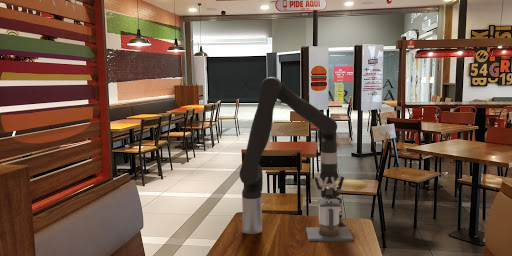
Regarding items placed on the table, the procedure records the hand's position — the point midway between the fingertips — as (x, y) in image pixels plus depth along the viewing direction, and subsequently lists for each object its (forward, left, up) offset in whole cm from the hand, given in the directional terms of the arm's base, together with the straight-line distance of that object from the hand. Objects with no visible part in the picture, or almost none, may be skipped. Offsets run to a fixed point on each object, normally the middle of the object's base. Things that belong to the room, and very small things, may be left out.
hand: (328, 197), depth 187 cm
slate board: (0, 0, -18) cm, 18 cm away
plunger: (0, 0, -10) cm, 10 cm away
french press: (+4, +17, -18) cm, 25 cm away
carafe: (0, -1, -17) cm, 17 cm away
